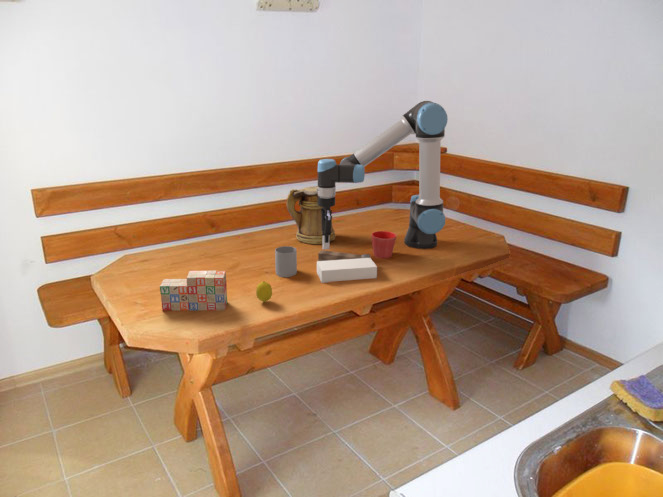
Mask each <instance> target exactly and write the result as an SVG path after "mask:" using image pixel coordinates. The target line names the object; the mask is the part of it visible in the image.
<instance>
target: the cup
mask: <svg viewBox="0 0 663 497" xmlns="http://www.w3.org/2000/svg"><path fill="white" fill-rule="evenodd" d="M297 253H298V252H297V248H296V247H294V246H290V245H283V246H279V247H276V248H275V249H274V258H275V259H274V261H275V262H274V263H275V274H276V276H278V277H279V278H280V277H281V278H292V276H295V275H296V274H297V273H298V264H297V263H298V262H297V261H298V259H297V258H298V257H297V255H298V254H297Z"/></svg>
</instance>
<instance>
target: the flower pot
mask: <svg viewBox="0 0 663 497" xmlns="http://www.w3.org/2000/svg"><path fill="white" fill-rule="evenodd" d="M396 240H397V235H396V233H394V232H392V231H387V230H377V231H373V232H372V233H371V243H372V244H371V245H372V251H373V256H374V257H375V258H378V259H389V258H391V257H392V255H393V253H394V252H393V251H394V248H395V244H396Z"/></svg>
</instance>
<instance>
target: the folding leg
mask: <svg viewBox="0 0 663 497" xmlns="http://www.w3.org/2000/svg"><path fill="white" fill-rule="evenodd" d="M317 256H318V259H317V261H329V260H343V259H358V258H371V255H370V254H368V253H363V254H355V253H349V252H339V251H330V250H325V249H321V250H320V251H319V252H318V253H317Z"/></svg>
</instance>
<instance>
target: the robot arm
mask: <svg viewBox="0 0 663 497" xmlns="http://www.w3.org/2000/svg"><path fill="white" fill-rule="evenodd" d="M447 113H448V112H447V111H446V110H445V108H444V107H443V106H442V105H441V104H439V103H436V102H433V101H431V100H422V101H420V102H419V103H417V104H415V105H414V106H413V107H412V108H410V109H409V110H408V111H407V112H405V113H404V114H402V116H401V118H400V119H399V120H398V121H397V122H395V123H394V124H392V125H391V126H390V127H388V128H387V129H385V130H384V131H383V132H381V133H380V134H379V135H377V136H376V137H374V138H373V139H371V140H370V141H369V142H367V143H366V144H365V145H363V146H362V147H361V148H359V149H358V150H357V151H355V152H353V154H351V155H349V156H346V157H344V158H343V159H341V161H340V163H339V164H337V162H336V159H333V158H323V159H319V161H318V162H317V186H318V189H316V191H318V205H319V206H321V207H322V208H321V222H322V231H323V232H322V233H323V234H322V236H323V244H322V250H330V242H329V237H330V235H331V222H332V223H333V215H332V212H333V210H331V207H334V206H335V205H336V186H337V185H336V184H337V183H338V184H339V183H340V184H341V183H343V184H344V183H345V184H347V183H349V184H357V183H358V184H360V183H364V181H365V167H367V165H369V164H370V163H372V162H374V161H375V160H376V159H378V158H379V157H381V155H383V154H385V153H386V152H388V151H389V150H390V149H392V148H393V147H395V146H396V145H398V144H399V143H401V142H402V141H403V140H405V139H406V138H407V137H409V136H410V135H415V138H416V139H417V140H418V141H419V145H418V147H419V148H418V150H419V152H418V153H419V155H418V156H419V157H418V160H419V162H418V165H419V167H418V168H419V169H418V170H419V171H418V174H419V176H418V178H419V179H418V181H419V182H418V184H419V188H418V189H419V190H418V192H419V193H418V194H414V195H411V197H410V201H409V203H410V204H409V221H408V225H409V226H408V228H407V231H406V234H405V236H404V239H403V240H404V241H403V242H404V244H405V246H407V247H409V248H412V249H413V248H414V249H419V250H420V249H421V250H426V249H433V248H436V247H437V245H438V237H437V234H436V233H439V232H440V231H441V230H443V228H444V226H446V215H445V214H444V200H443V199H442V198H441V195H440V194H441V192H440V191H441V189H440V188H441V149H442V148H441V146H442V145H441V144H442V142H441V141H442V139H444V138H445V136H446V135H445V132H446V130H445V129H446V126H447V125H448V114H447Z"/></svg>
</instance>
